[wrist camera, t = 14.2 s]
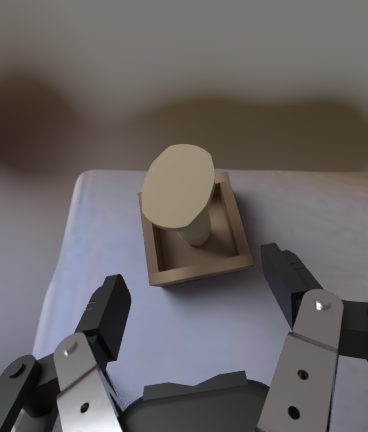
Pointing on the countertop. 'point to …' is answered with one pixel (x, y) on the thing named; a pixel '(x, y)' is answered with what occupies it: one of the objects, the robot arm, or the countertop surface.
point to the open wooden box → (208, 252)
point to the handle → (180, 192)
